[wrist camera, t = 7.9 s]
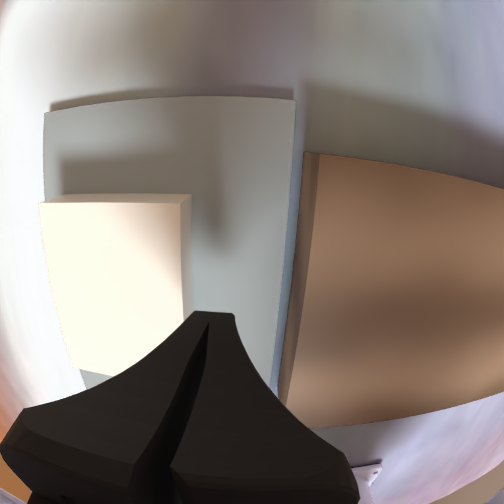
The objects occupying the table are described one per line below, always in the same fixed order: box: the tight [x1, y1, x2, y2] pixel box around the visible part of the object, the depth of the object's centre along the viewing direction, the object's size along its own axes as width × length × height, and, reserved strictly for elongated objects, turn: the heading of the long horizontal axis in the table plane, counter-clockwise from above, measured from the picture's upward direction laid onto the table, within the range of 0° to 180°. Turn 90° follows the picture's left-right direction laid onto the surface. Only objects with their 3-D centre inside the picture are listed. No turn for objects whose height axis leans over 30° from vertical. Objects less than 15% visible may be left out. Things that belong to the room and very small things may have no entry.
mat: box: [43, 96, 296, 389], centre depth 13 cm, size 16×11×1 cm
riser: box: [278, 152, 504, 428], centre depth 12 cm, size 12×20×3 cm, turn 87°
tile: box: [38, 193, 193, 376], centre depth 12 cm, size 8×6×2 cm
